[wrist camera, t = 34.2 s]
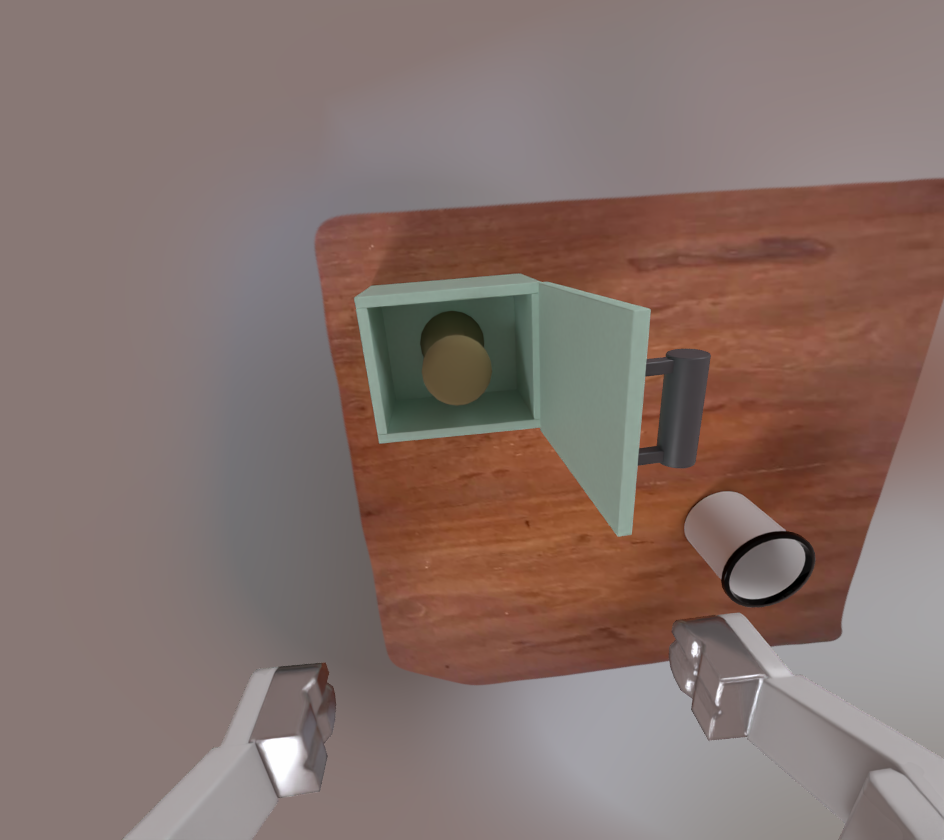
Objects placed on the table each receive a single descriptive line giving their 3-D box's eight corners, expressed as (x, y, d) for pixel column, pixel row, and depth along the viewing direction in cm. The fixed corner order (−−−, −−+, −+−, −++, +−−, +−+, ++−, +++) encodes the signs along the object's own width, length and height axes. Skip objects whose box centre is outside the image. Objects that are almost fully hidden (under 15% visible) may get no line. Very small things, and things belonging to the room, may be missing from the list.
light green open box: (389, 406, 43) (379, 443, 35) (370, 285, 39) (353, 297, 31) (523, 393, 44) (543, 427, 36) (520, 273, 40) (542, 281, 31)
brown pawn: (458, 386, 42) (466, 431, 32) (407, 350, 41) (398, 386, 30) (497, 336, 41) (517, 368, 31) (445, 296, 39) (448, 316, 29)
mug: (669, 506, 51) (715, 559, 43) (746, 473, 50) (809, 519, 42) (694, 576, 55) (740, 636, 47) (766, 546, 54) (825, 602, 46)
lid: (617, 537, 23) (710, 522, 23) (633, 310, 18) (748, 298, 19) (540, 430, 35) (600, 422, 36) (538, 282, 31) (607, 276, 32)
